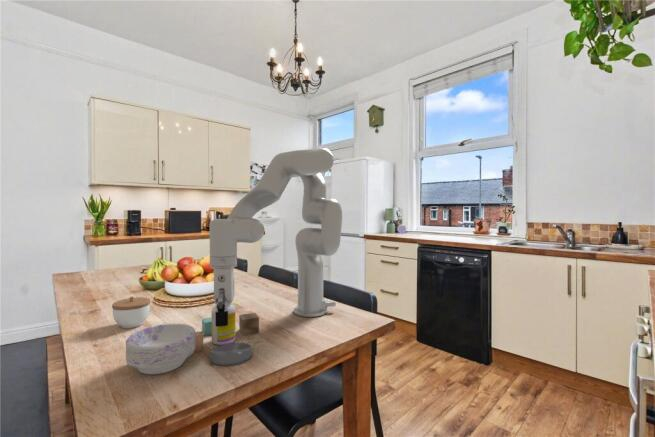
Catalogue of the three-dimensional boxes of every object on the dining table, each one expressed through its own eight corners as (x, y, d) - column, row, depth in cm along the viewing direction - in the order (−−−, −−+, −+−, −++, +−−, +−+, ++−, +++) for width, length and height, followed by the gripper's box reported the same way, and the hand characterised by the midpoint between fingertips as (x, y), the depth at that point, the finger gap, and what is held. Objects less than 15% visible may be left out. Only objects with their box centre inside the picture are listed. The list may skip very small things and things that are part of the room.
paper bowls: (182, 380, 72) (182, 346, 72) (112, 383, 71) (111, 348, 70) (203, 350, 87) (203, 321, 87) (145, 352, 86) (145, 323, 86)
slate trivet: (253, 345, 91) (253, 340, 91) (252, 363, 80) (252, 359, 80) (212, 348, 88) (212, 344, 88) (206, 368, 78) (206, 363, 78)
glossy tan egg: (204, 345, 90) (204, 331, 90) (202, 351, 86) (202, 337, 86) (189, 346, 89) (189, 332, 89) (186, 353, 85) (186, 338, 85)
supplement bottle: (240, 339, 94) (240, 296, 94) (222, 348, 89) (222, 302, 88) (225, 334, 98) (225, 293, 97) (206, 342, 92) (206, 298, 92)
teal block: (221, 327, 104) (221, 315, 104) (224, 331, 101) (224, 319, 101) (202, 331, 101) (202, 318, 101) (205, 335, 97) (204, 322, 97)
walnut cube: (254, 327, 104) (254, 312, 104) (259, 333, 99) (258, 317, 99) (239, 330, 102) (239, 314, 101) (242, 336, 97) (242, 319, 97)
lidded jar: (145, 317, 113) (145, 290, 113) (154, 325, 105) (154, 297, 105) (109, 324, 105) (108, 296, 105) (116, 334, 98) (116, 303, 97)
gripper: (234, 266, 85) (234, 330, 85) (238, 256, 102) (238, 309, 102) (204, 267, 83) (205, 332, 84) (214, 257, 100) (214, 311, 101)
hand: (223, 319), depth 93 cm, fingers open, 9 cm apart
